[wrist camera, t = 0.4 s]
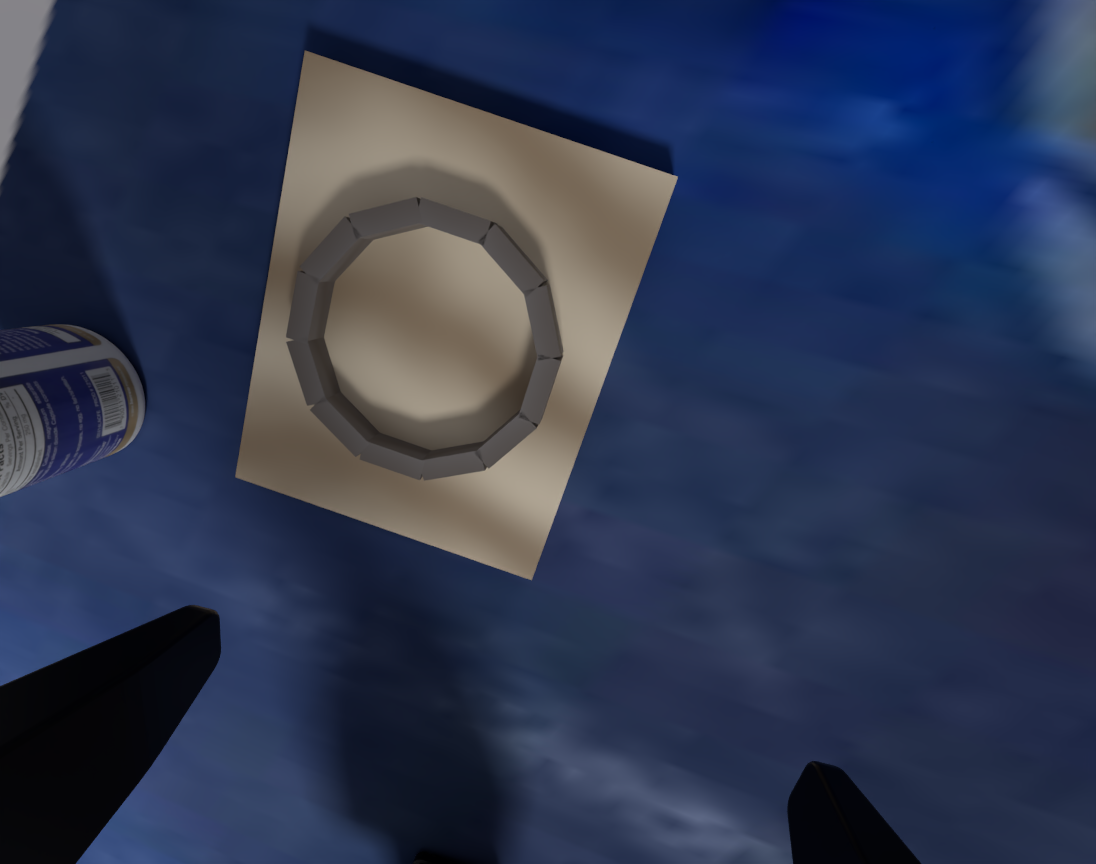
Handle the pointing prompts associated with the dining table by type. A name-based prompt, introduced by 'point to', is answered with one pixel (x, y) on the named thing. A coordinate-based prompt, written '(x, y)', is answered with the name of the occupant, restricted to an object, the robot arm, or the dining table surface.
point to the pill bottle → (62, 402)
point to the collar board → (439, 313)
